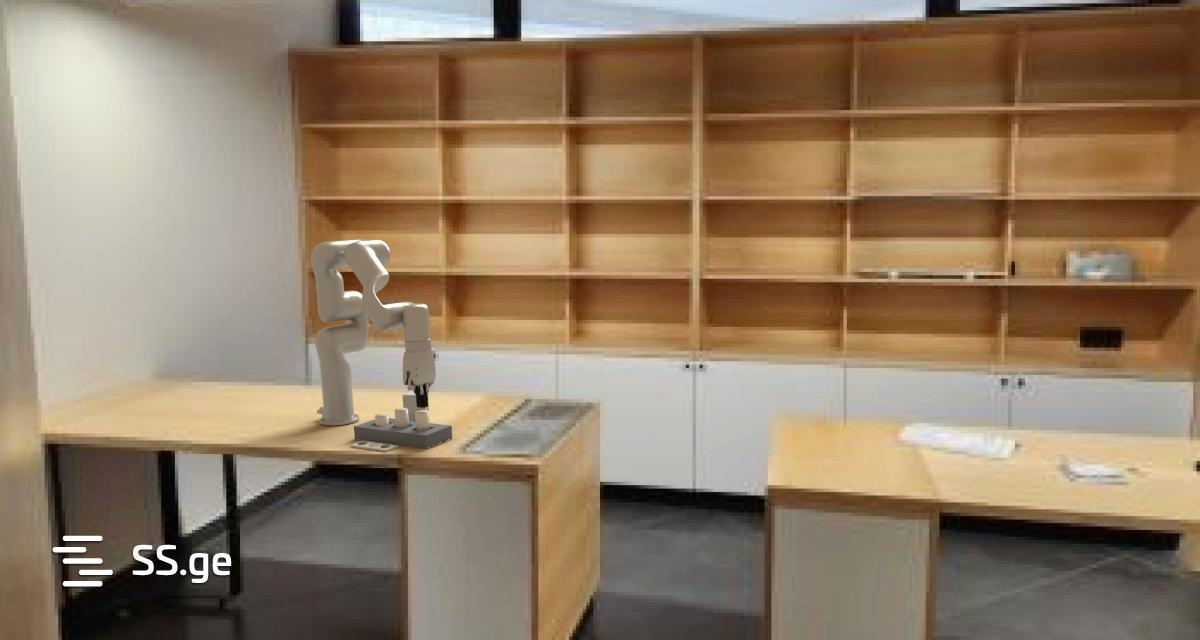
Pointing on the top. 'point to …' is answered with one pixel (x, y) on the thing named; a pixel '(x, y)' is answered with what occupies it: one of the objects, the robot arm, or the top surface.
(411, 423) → the grey slotted rack
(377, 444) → the pattern card
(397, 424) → the button
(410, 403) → the small box
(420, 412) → the button
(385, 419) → the button
